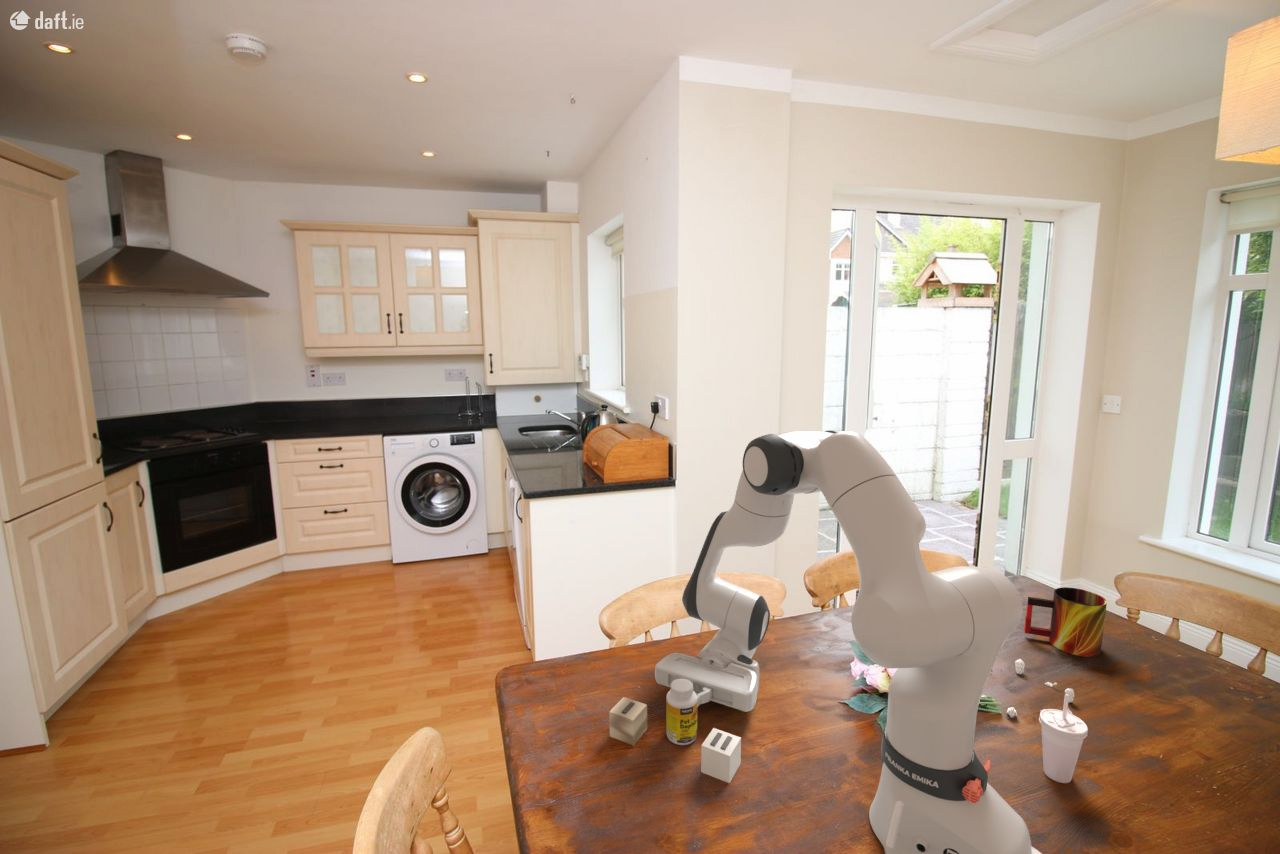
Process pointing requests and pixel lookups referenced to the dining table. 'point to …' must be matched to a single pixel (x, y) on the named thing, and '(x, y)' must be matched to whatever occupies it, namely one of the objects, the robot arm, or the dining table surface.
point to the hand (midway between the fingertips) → (688, 702)
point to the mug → (1072, 621)
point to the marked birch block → (628, 720)
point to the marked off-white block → (721, 755)
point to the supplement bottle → (681, 712)
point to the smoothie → (1061, 742)
